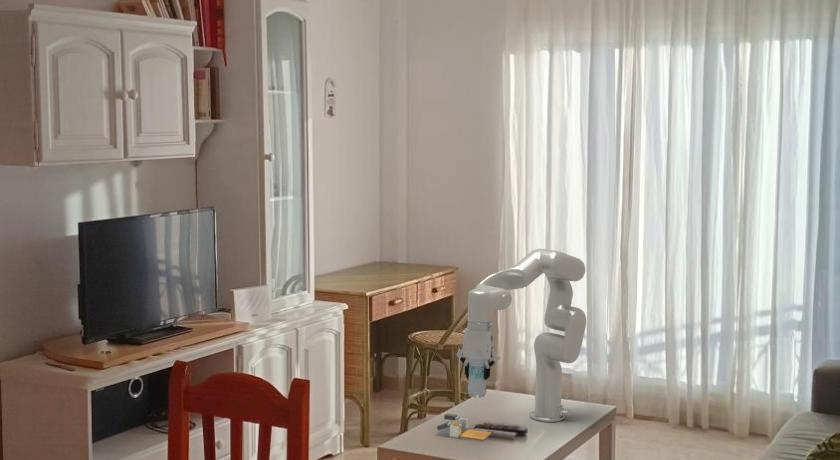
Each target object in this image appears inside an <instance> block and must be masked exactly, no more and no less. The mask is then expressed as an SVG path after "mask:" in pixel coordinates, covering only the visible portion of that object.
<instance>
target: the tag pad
mask: <svg viewBox="0 0 840 460" xmlns="http://www.w3.org/2000/svg"><path fill="white" fill-rule="evenodd" d="M490 434H491V432H484V431H476V430H469V429H468V430H466V431H465V432H464V433H463V434H462V435H461V436H460V437H464V438H472V439H479V440H484V439H485V438H486V439H487V437H488V436H489V435H490ZM491 435H492V434H491ZM491 435H490V436H491ZM490 436H489V437H490ZM489 437H488V438H489ZM486 439H485V440H486ZM485 440H484V441H485Z"/></svg>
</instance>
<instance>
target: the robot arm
mask: <svg viewBox="0 0 840 460" xmlns="http://www.w3.org/2000/svg"><path fill="white" fill-rule="evenodd" d="M543 274H544V275H545V277H546V279H547V282H548V286H549V294H548V295H549V296H548V299H547V303H546V309H545V314H544V320H543V322H544V324H545V326H546V327H547V328H549V329H551V330H554V331H559V332H563V333H564V335H563V334H558V333H553V332H541V333H539V334H538V335H537V336H536V337H535V338H534V339H535V340H534V343H533V350H534V356H535V391H534V392H535V393H534V395H535V396H534V410H533V411H531V412H530V418H531V419H533V420H534V421H539V422H546V423H556V422H562V421H563V420H565V419H566V417H572V416H573V410H571V409H565V408H564V405H563V404H562V390H563V389H562V386H563V385H562V384H563V382H562V381H563V369H562V365H561V363H563V364H564V363H565V364H572V363H574V362H576V361H577V359H578V358H579V356H580V354H581V350H582V346H583V341H584V336H585V331H586V328H587V327H586V326H587V316H586V313H585V312H584V311H583V310H582V309H581V308H579V307H576V306H572V301H573V296H574V291H573V286H572V283H571V282H578V281H580V280H582V279H583V278H584V277H585V274H586V266H585V263H584V262H583V260H582V259H580V258H578V257H576V256H573V255H570V254H567V253H566V252H562V251H560V250H552V249H546V248H536V249H534V250H532V251H530V252H529V253H528V254H526V256H524V257H523V258H521V260H519V261H518V262H517V263H516V264H515V265H513V266H512V267H510V268H507V269H506V268H505V269H504V270H500V271H498V272H495V273H492V274H491V275H489V276H487V277H486V278H484V279H483V280H482V281H481V282H480V283H477V285H476V286H475V288H473V289H470V290H469V292H468V297H467V328H465V331H464V336H463V342H462V348H460V349H459V350H458V351H457V353H456V354H455V355H456V357H457V358H458V359H459V360H460V361H461V363H462V364H463V366H464V375H465V378H466V379H469V362H468V357H469V354H470V351H471V349H478V350H481V353H482V356H483V359H484V360H485V366H486V368H485V369H484V379H485V380H486V381H487V380H488V379H489V378H490V377H491V367H492V366H494V364H496V363H497V362H498V361H499V360H500V359H501V357H500V356H499V354H498V353H497V352H496V351H495V348H494V347H495V346H494V345H495V343H494V335H493V330H492V329H493V328H495V327H494V326H495V324H494V323H491V321H490V320H491V311H503V310H505V309H508V308H509V306H510V305H511V303H512V301H513V300H512V294H511V292H510V291H512V290H520V289H525V288H526V287H528V286H529V285H530V284H532V283H533V282H534V281H535V280H536V279H538V278H539V277H540V276H542V275H543ZM491 358H493V359H492V360H491ZM565 416H566V417H565Z"/></svg>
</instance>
